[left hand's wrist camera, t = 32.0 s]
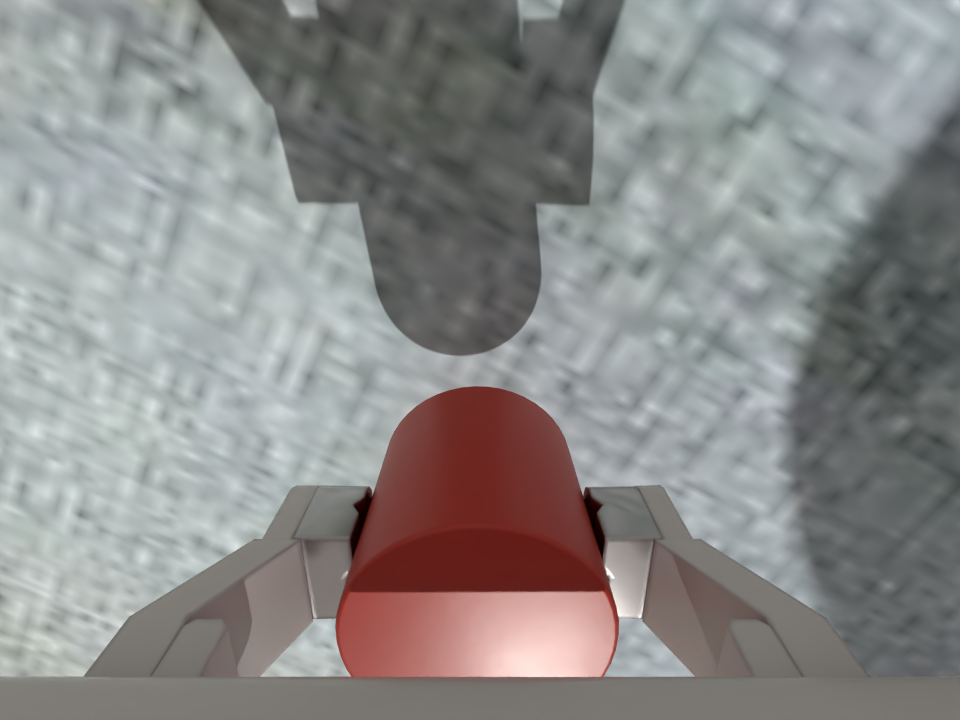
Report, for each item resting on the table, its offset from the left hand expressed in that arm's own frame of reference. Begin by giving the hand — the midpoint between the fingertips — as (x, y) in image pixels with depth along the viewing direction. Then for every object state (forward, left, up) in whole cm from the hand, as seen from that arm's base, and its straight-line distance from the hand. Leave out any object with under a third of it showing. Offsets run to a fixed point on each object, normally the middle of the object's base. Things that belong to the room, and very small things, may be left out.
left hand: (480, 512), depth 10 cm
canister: (0, 0, -2) cm, 2 cm away
